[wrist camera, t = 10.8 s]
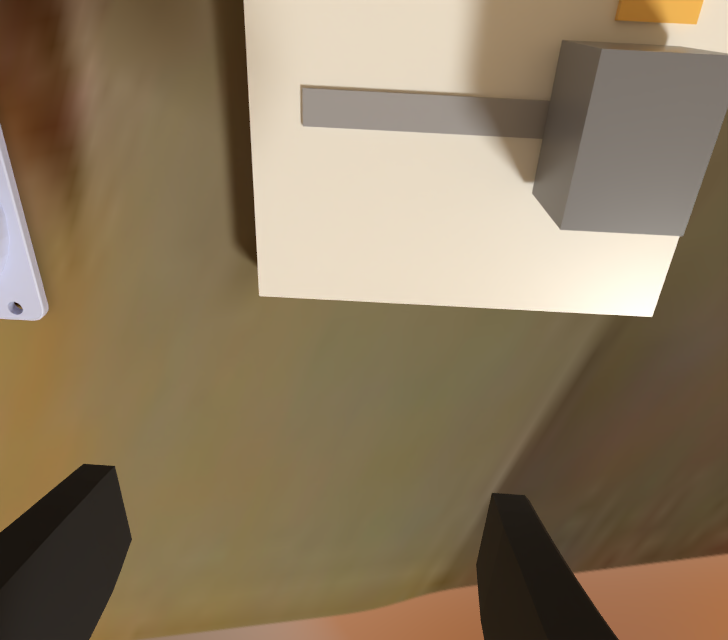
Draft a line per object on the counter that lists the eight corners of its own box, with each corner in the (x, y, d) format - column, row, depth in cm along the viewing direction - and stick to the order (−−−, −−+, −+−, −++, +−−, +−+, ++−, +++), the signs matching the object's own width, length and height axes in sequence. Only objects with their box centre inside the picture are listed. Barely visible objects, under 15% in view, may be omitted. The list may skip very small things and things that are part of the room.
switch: (531, 193, 16) (560, 229, 14) (562, 39, 14) (601, 49, 12) (635, 198, 16) (682, 236, 14) (679, 45, 14) (745, 56, 12)
